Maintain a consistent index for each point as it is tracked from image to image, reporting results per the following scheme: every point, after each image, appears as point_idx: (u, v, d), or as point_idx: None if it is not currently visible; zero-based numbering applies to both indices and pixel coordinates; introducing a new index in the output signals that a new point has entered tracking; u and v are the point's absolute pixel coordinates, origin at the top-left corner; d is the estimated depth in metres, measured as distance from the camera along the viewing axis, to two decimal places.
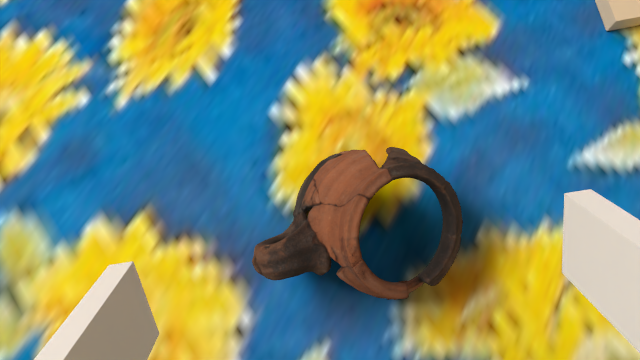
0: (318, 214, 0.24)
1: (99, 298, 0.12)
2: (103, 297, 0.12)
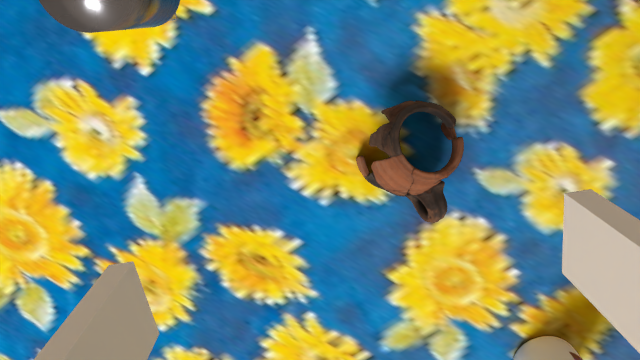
0: (415, 191, 0.41)
1: (99, 298, 0.12)
2: (103, 297, 0.12)
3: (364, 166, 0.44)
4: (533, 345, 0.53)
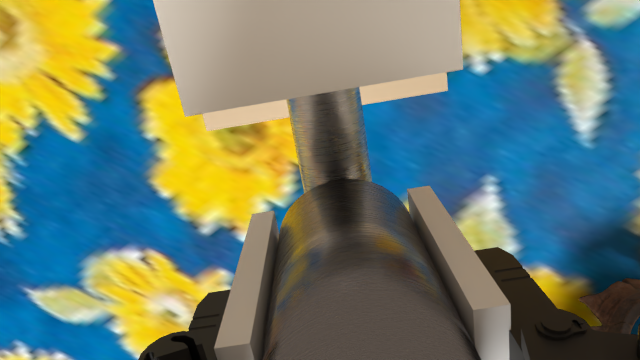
0: None
1: (261, 236, 0.14)
2: (265, 235, 0.14)
3: None
4: None
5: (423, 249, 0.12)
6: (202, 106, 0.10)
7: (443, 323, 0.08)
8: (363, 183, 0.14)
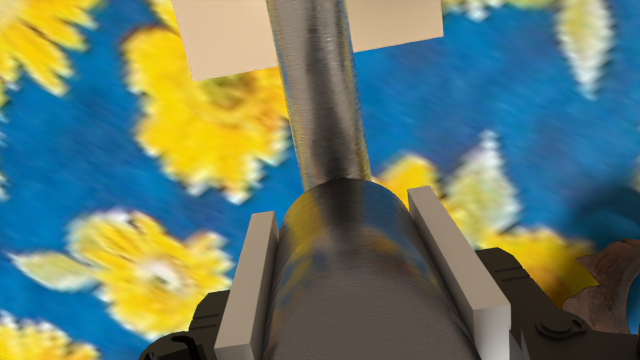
0: None
1: (261, 236, 0.14)
2: (265, 235, 0.14)
3: None
4: None
5: (422, 248, 0.11)
6: None
7: (442, 320, 0.08)
8: (362, 182, 0.14)
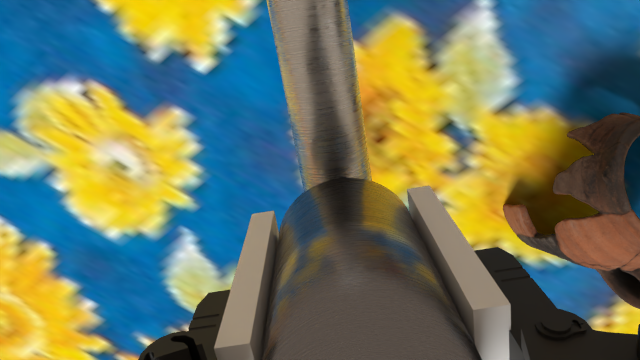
0: (634, 265, 0.24)
1: (261, 236, 0.14)
2: (265, 235, 0.14)
3: (528, 221, 0.27)
4: None
5: (423, 247, 0.11)
6: None
7: (443, 320, 0.08)
8: (363, 182, 0.14)
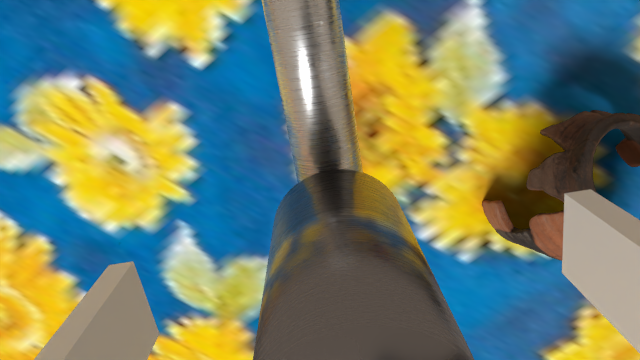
0: None
1: (99, 298, 0.12)
2: (103, 297, 0.12)
3: (505, 216, 0.28)
4: None
5: (409, 233, 0.12)
6: None
7: (424, 295, 0.09)
8: (354, 173, 0.15)
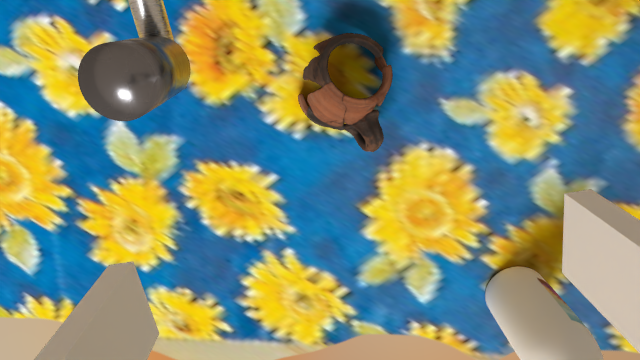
0: (349, 119, 0.43)
1: (99, 298, 0.12)
2: (103, 297, 0.12)
3: (304, 103, 0.46)
4: (503, 275, 0.55)
5: (166, 49, 0.30)
6: None
7: (141, 47, 0.27)
8: (160, 36, 0.33)
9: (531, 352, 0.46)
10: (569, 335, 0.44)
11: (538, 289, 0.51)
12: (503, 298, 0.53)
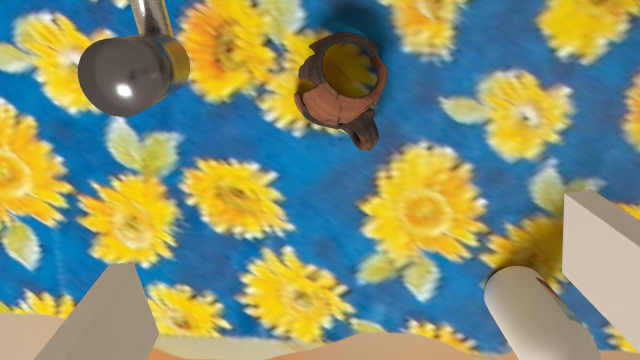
0: (344, 118, 0.44)
1: (99, 298, 0.12)
2: (103, 297, 0.12)
3: (300, 102, 0.46)
4: (502, 274, 0.55)
5: (166, 45, 0.31)
6: None
7: (141, 43, 0.27)
8: (160, 33, 0.33)
9: (529, 351, 0.46)
10: (566, 334, 0.45)
11: (537, 288, 0.51)
12: (502, 297, 0.53)
